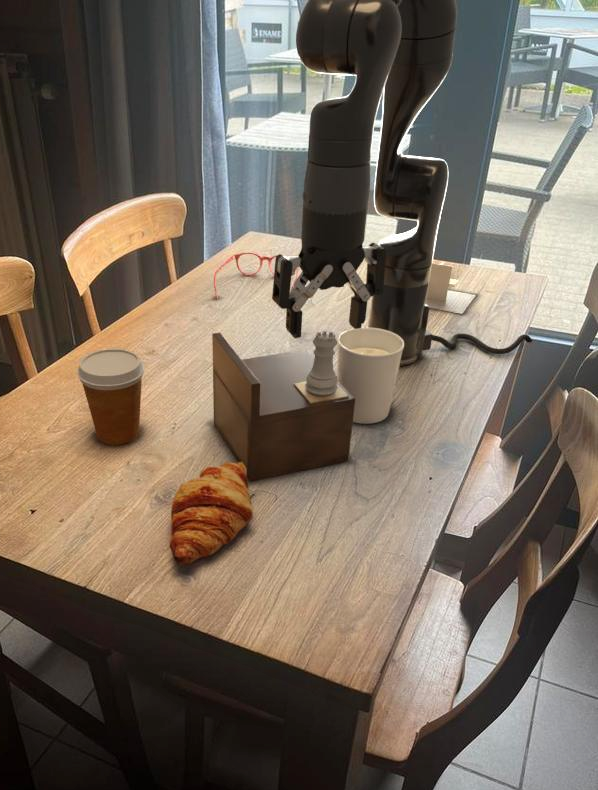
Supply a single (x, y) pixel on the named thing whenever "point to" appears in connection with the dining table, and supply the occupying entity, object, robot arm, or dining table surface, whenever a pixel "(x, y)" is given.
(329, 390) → the rook chess piece
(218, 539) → the croissant
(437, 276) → the architectural model
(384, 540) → the dining table surface
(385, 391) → the candle holder
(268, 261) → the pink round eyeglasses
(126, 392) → the disposable coffee cup
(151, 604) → the dining table surface
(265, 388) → the walnut shelf
